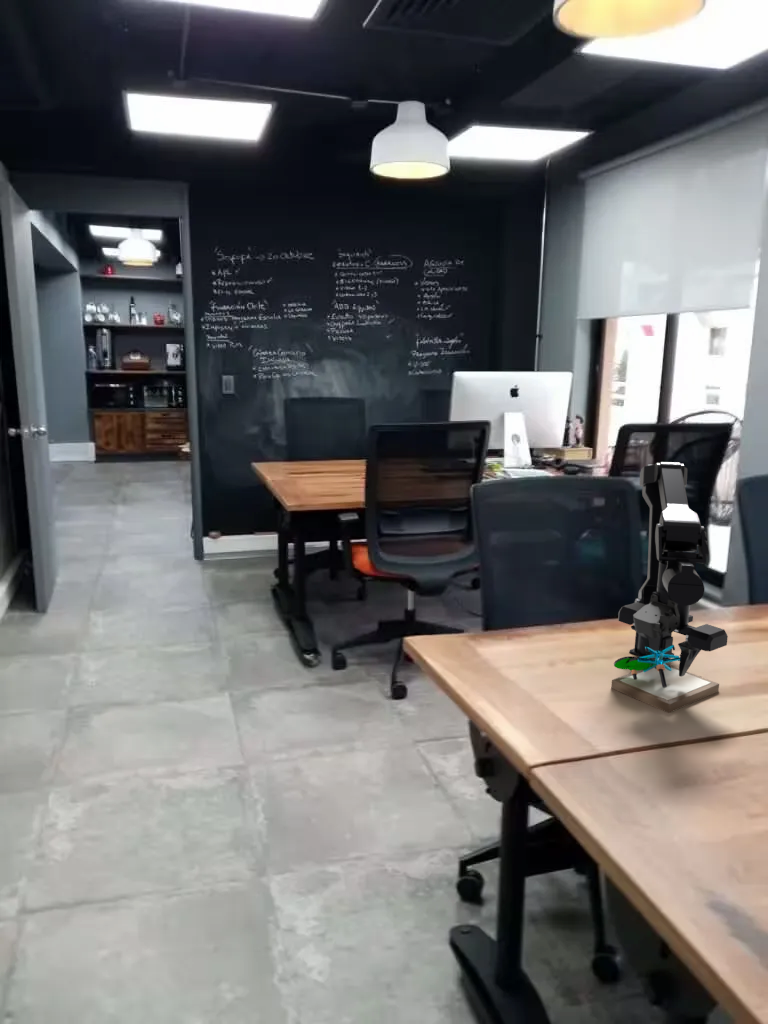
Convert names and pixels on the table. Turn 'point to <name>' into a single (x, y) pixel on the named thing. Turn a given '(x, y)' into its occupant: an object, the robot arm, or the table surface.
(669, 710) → the walnut framed pale panel
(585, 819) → the table surface
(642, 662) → the stick construction toy
